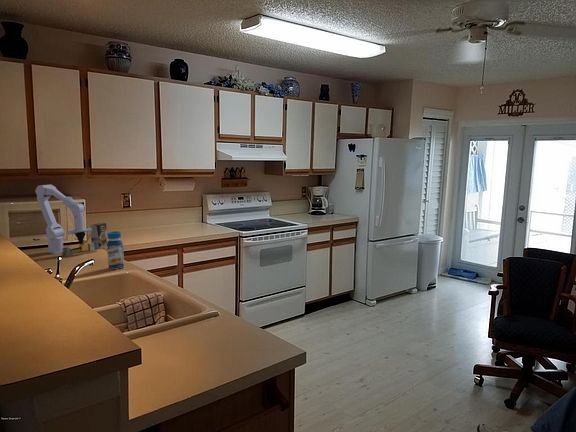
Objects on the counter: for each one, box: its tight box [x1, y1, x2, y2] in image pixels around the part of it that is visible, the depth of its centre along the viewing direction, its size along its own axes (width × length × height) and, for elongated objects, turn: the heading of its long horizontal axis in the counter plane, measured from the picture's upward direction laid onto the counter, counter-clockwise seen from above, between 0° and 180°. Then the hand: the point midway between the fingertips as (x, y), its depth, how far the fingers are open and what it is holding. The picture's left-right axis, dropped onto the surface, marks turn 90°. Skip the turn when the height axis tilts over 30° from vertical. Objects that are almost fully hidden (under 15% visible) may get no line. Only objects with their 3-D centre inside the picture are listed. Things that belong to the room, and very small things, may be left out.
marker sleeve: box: [78, 239, 89, 251], centre depth 277 cm, size 4×4×7 cm
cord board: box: [61, 241, 98, 258], centre depth 275 cm, size 9×18×6 cm, turn 142°
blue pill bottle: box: [106, 230, 125, 270], centre depth 237 cm, size 8×8×20 cm
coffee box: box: [89, 222, 108, 250], centre depth 292 cm, size 9×6×16 cm
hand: (81, 244), depth 276 cm, fingers closed
